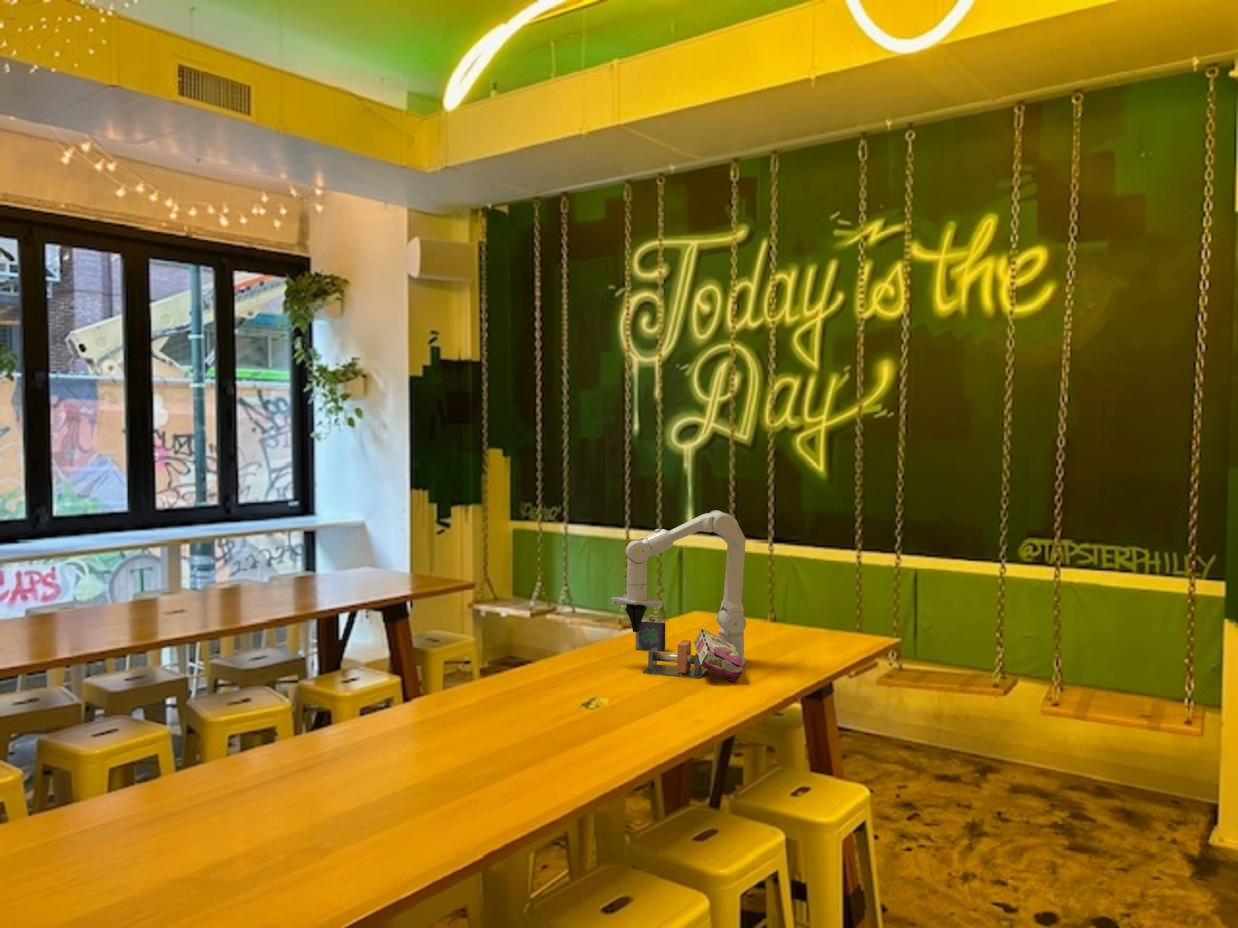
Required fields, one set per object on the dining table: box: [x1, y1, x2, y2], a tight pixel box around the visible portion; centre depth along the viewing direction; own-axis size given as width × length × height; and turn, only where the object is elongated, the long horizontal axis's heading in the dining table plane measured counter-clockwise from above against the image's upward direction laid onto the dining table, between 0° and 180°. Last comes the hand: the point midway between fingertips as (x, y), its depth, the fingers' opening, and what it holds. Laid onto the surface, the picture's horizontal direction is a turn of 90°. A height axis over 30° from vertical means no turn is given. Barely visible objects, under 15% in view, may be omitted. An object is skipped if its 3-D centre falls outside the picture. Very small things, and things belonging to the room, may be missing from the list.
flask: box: [635, 614, 666, 653], centre depth 282 cm, size 9×3×11 cm, turn 76°
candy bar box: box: [693, 628, 745, 683], centre depth 254 cm, size 11×5×16 cm
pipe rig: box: [642, 648, 708, 679], centre depth 258 cm, size 9×16×6 cm, turn 73°
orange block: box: [676, 639, 692, 673], centre depth 257 cm, size 6×2×8 cm, turn 163°
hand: (636, 631), depth 263 cm, fingers closed
